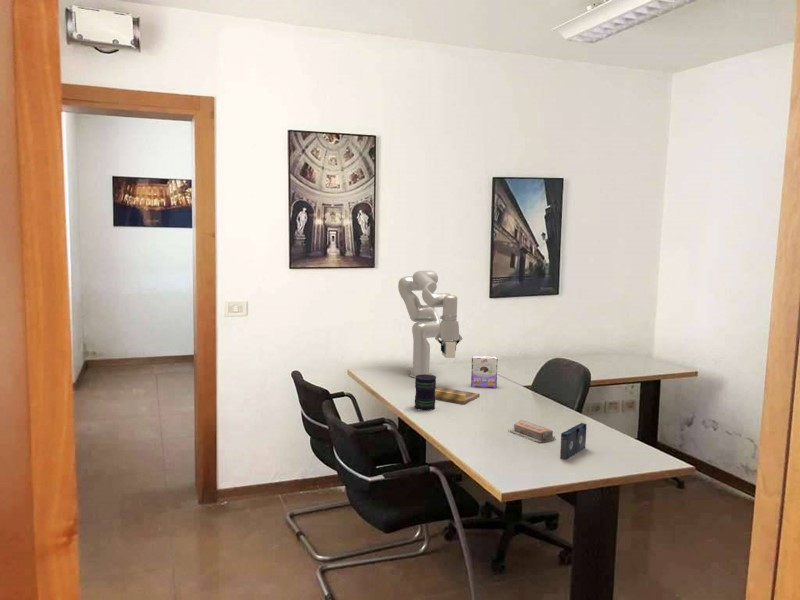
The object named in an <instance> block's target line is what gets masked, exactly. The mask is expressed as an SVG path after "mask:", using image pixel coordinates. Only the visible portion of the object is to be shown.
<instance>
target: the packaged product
mask: <svg viewBox="0 0 800 600" xmlns="http://www.w3.org/2000/svg"><path fill="white" fill-rule="evenodd" d="M507 431H508V432H509V431H510V432H509V433H511V432H512V433H511V434H514V433H515V435H516V434H518V435H517V436H519V435H520V436H519V437H522V436H523V437H522V438H524V437H525V439H527V438H528V439H527V440H529V439H530V441H532V442H536V443H537V442H538V444H543V443H546V441H547V442H551V441H555V440H556V436H554V435H553V434H554V431H553V430H551V429H549V428H546V427H544V426H541V425H538V424H535V423H533V422H530V421H527V420H522V419H521V420H519V421H518V422H516V423H514V424H513V428H510V429H508V430H507ZM554 439H555V440H554ZM550 440H551V441H550Z"/></svg>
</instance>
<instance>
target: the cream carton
mask: <svg viewBox="0 0 800 600" xmlns="http://www.w3.org/2000/svg"><path fill="white" fill-rule="evenodd" d="M455 348H456V349H457V345H456V343H455V342H454V341H453V340H445V342H444V353H443V352H442V351H441V355H442V356H443V357H444V358H445V359H456V351H455Z"/></svg>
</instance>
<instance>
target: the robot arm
mask: <svg viewBox="0 0 800 600" xmlns="http://www.w3.org/2000/svg"><path fill="white" fill-rule="evenodd" d="M438 281H439V277H438V274H437V272H436V271H434V270H418V271H415V272H414V273H413V275H411V276H404V277H401V278H400V279H399V281H398V283H397V284H398V285H397V287H398V293H399V296H400V298H401V299H402V300H403V302H404V304H405V305H404V306H405V307H406V310H407V313H408V316H409V318H410V320H411V321H412V322H414V324H412V326H411V327H412V328H411V333H412V338H413V339H412V340H413V341H412V342H413V343H412V344H413V345H412V347H413V349H412V350H413V351H412V353H413V354H412V367H410V366H408V367H407V370H406V371H407V372H410V373H409V377H410V378H415V379H416V376H417V375H423V374H426V375H432V373H431V372H430V362H431V361H430V360H431V359H430V358H431V345H430V343H429V340H428V339H430V338H434V339H435V340H436V341H437V342H438V343H439V344H440V352H441V353H442V352H443V353H444V342H445V340H452V341H454V342H455V343H456V346H457V345H458V344H459V343H460V342H461V341H462V340H463V339H464V338H463V337H462V335H461V334H460V324H459V320H458V317H457V315H458V297H457V295H453V294H450V293H449V292H448V293H447V292H442V293H440V292H439V293H438V292H437V293H436V290H437V288H438V287H437V286H438V285H437V283H438ZM417 291H420V292H421V298H422V301H423V302H424V303H425V304H424V305H423V304H422V303H421V302H420V299H419V297H418V296H417V295H416V293H414V292H417ZM436 308H442V314H441V315H440V316H439V315H438V313H437V309H436ZM456 351H457V347H456V348H455V352H456Z"/></svg>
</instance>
